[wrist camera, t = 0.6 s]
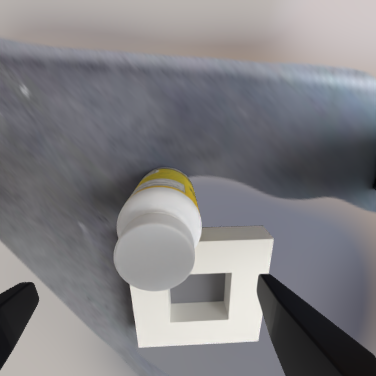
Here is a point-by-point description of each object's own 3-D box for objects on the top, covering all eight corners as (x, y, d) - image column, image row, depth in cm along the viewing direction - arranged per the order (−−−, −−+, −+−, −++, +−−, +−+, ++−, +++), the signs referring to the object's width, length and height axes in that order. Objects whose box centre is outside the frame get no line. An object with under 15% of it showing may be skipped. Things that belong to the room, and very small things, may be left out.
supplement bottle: (189, 220, 19) (196, 308, 10) (136, 213, 19) (94, 297, 10) (199, 170, 18) (219, 219, 8) (142, 161, 17) (97, 201, 8)
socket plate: (262, 225, 20) (275, 241, 17) (250, 320, 24) (259, 344, 21) (130, 229, 19) (122, 247, 17) (142, 325, 24) (138, 351, 21)
